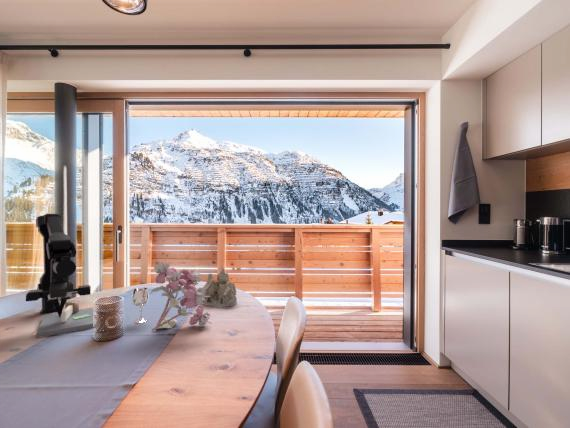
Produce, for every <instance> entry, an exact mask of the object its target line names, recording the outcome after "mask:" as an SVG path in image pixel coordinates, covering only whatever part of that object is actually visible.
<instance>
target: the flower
mask: <svg viewBox="0 0 570 428" xmlns="http://www.w3.org/2000/svg"><path fill="white" fill-rule="evenodd" d="M156 262H157V264H154V265H153V270H154V272H155V273H156V274H157V275H156V276H155V284H161V285H160V286H157V287H155V288H153V289H151V292H149V294H150V295H151V294H152V293H154V292H155V293H156V292H159V291H160V290H162V291H164V292H162V294H160V297H167V301H166V304H165V307H164V309H163V311H162V313H161V315H160V317H159V320H158V321H157V323H156V325H155V327H152V328H151V331H152V332H154V331H157V330H158V329H169V330H170V329H172V328H174V327H175V326H176V324H177V323H178V320H177V319H175V318H177V317H179V316H180V317H181V316H183V317H186V316H187V315H188V314H191V315H193V316H192V317H190V320H189V321H188V323H189V325H190V326H194V325H196V324H197V323H198V326H199V327H202V328H204V327H205V326H207V325H206V324H208V323H209V324H212V322H210V321H209V319H210V316H211V314H210V313H209V312H204V307H202V306H201V305H202V304H204V303H203V302H202V301H206V300H204V299H205V297H210V296H204V295H205V293H206V291H205V290H204V289H205V288H203V287H199V288H198V289H197V287H196V285H199V283H200V282H201V281H202V274H201V272H200V271H199V272H197V271H195V270H196V269H195V268H193V269H192V270H190V271H189V269H186V268H184V269H181V270H179V271H177V269H176V268H175V267H170V263H169V262H167V261H166V260H165V261H163V260H162V261H161V263H160V262H158V259H156ZM166 281H168V284H166V285H165V286H164V285H162V284H165V283H166ZM180 291H181V292H182V293H183V296H181V297H178V295H179V294H178V293H179V292H180ZM175 293H176V294H175ZM174 294H175V296H174ZM177 297H178V298H177ZM203 298H204V299H203ZM198 305H200V306H198ZM196 306H198V307H197V308H196V309H195V311H196V313H193V312H190V311H189V312H187V309H192V308H194V307H196ZM172 308H175V309H177V315H174V316H172V317H167V315H168V313H169V312H170V311H171V309H172Z"/></svg>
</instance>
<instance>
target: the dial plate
mask: <svg viewBox="0 0 570 428" xmlns="http://www.w3.org/2000/svg"><path fill="white" fill-rule="evenodd" d="M93 316H94V307H89V308H88V307H87V308H82V309H80V308H79V312H77V313H74V314H71V315H70V317H69V318H68V319H67V320H66V322H61V317H59V315H58V312H52V313H45V314H44V315H43V317H42V320H41V322H40V325H39V326H38V329H37V332H36V338H43V337H44V338H45V337H50V336H54V335H55V336H56V335H59V334H66V333H71V332H77V331H82V330H88V329H89V330H90V329H93Z"/></svg>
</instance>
